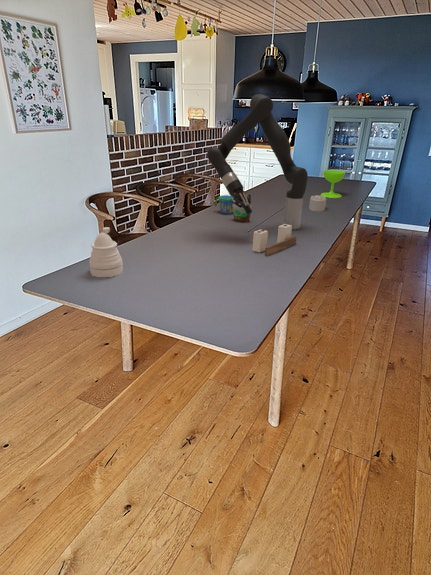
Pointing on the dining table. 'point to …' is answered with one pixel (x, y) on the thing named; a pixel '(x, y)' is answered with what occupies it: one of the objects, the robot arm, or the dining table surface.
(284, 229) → the key one
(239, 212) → the food container
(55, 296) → the dining table surface
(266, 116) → the robot arm
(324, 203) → the lumpy-topped squat cylinder
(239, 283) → the dining table surface
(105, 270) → the honey pot
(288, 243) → the console
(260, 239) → the key two
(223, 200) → the snack cup
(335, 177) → the wineglass
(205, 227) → the dining table surface
